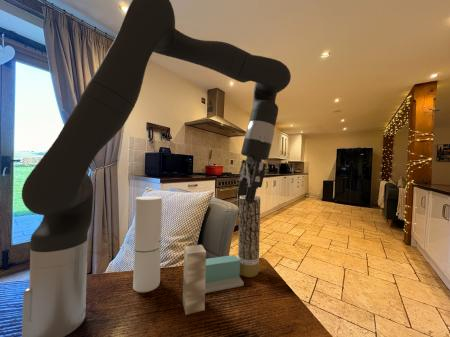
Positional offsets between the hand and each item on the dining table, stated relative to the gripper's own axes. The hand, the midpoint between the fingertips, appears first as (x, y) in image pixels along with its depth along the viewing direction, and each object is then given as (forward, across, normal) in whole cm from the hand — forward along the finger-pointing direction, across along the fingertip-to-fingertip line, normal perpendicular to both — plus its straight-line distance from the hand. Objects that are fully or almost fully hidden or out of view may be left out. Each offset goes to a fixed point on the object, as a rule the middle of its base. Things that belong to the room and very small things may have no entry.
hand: (244, 198), depth 54 cm
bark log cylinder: (+25, -8, +10) cm, 28 cm away
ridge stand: (+27, -5, -2) cm, 28 cm away
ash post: (+28, +5, -8) cm, 29 cm away
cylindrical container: (+31, -6, -21) cm, 38 cm away
